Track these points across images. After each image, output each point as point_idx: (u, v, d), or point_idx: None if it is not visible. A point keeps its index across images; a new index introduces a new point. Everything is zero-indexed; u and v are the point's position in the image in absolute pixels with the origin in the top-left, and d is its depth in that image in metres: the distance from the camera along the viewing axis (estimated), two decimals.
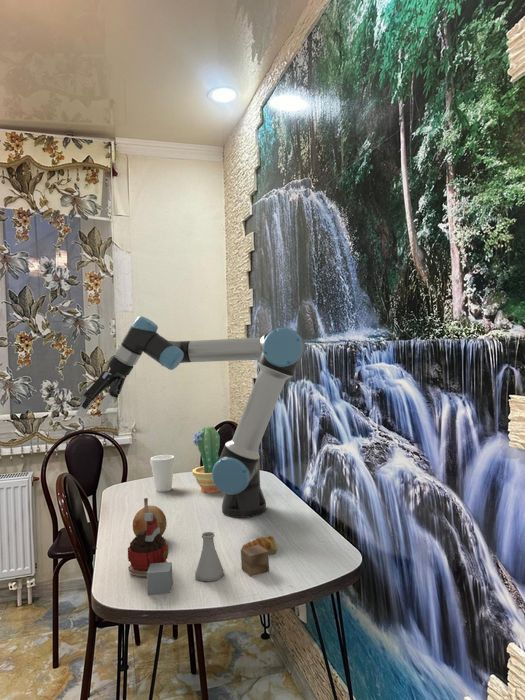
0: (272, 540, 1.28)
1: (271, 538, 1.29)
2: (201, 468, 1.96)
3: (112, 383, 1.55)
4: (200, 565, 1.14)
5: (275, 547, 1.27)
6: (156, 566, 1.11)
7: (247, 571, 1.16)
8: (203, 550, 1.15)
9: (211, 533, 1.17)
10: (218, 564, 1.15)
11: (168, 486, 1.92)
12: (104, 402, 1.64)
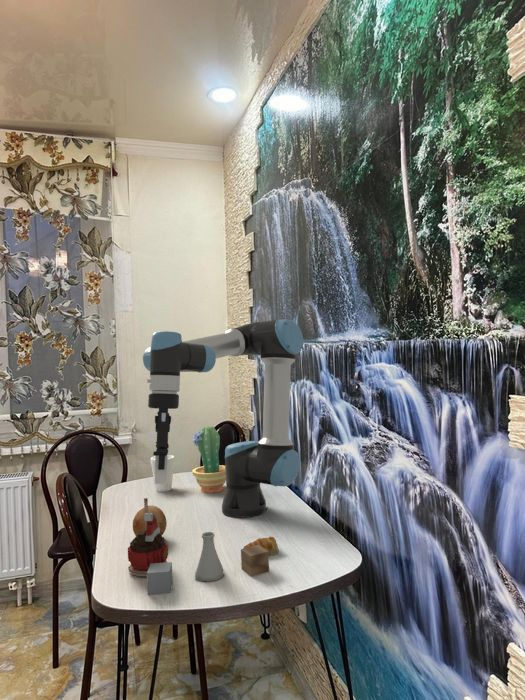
0: (273, 541, 1.28)
1: (272, 539, 1.28)
2: (201, 468, 1.96)
3: (169, 425, 1.18)
4: (200, 565, 1.14)
5: (276, 548, 1.27)
6: (156, 566, 1.11)
7: (247, 571, 1.16)
8: (203, 550, 1.15)
9: (211, 533, 1.17)
10: (218, 564, 1.15)
11: (168, 486, 1.92)
12: None
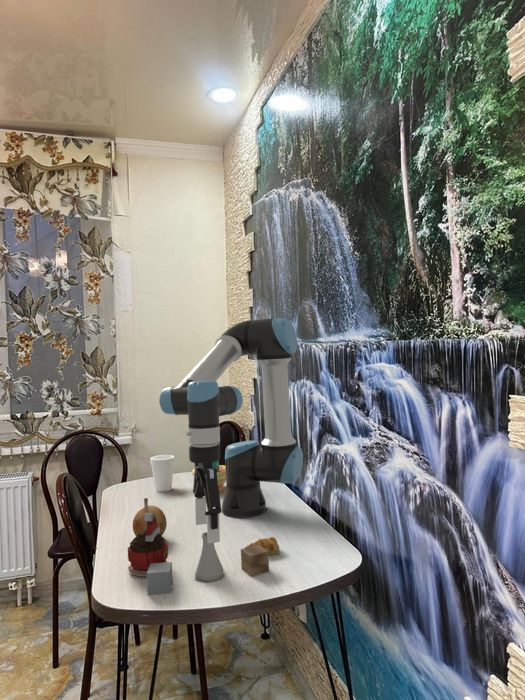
0: (274, 541, 1.27)
1: (273, 539, 1.28)
2: None
3: None
4: (200, 565, 1.14)
5: (278, 548, 1.26)
6: (156, 566, 1.11)
7: (247, 571, 1.16)
8: (203, 550, 1.15)
9: None
10: (218, 564, 1.15)
11: (168, 486, 1.92)
12: (199, 511, 1.22)
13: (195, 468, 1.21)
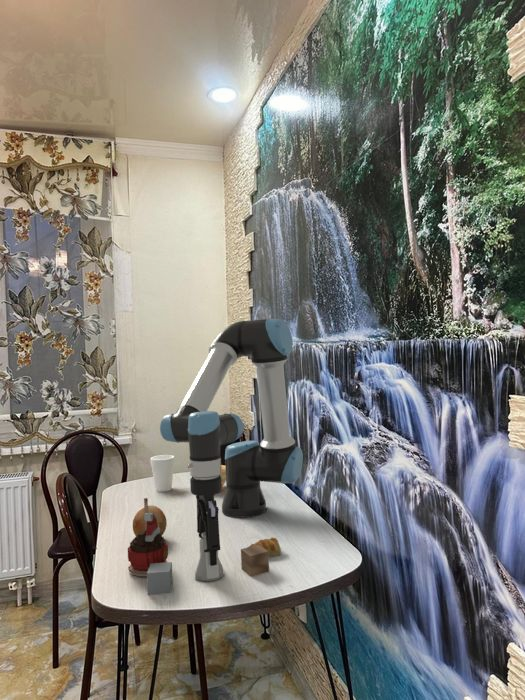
0: (276, 541, 1.27)
1: (274, 540, 1.28)
2: None
3: None
4: (200, 565, 1.14)
5: (279, 548, 1.26)
6: (156, 566, 1.11)
7: (247, 570, 1.16)
8: (203, 550, 1.15)
9: None
10: (218, 564, 1.15)
11: (168, 486, 1.92)
12: None
13: None
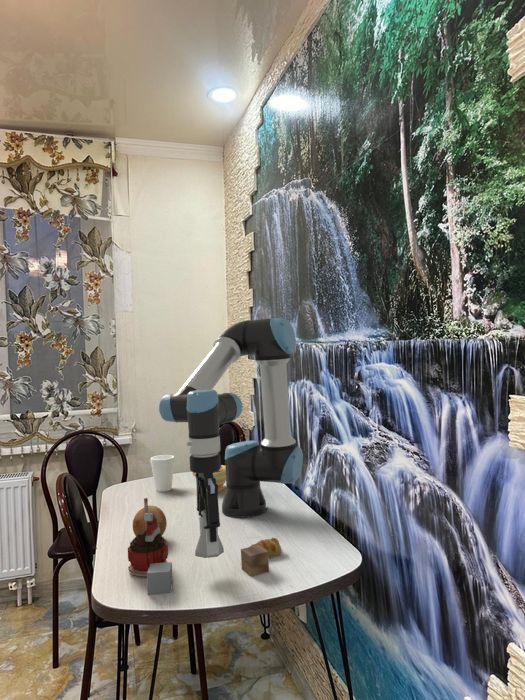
0: (276, 542, 1.27)
1: (275, 540, 1.27)
2: None
3: None
4: (200, 542, 1.14)
5: (280, 549, 1.26)
6: (156, 566, 1.11)
7: (247, 570, 1.16)
8: (203, 527, 1.15)
9: None
10: (218, 541, 1.15)
11: (168, 486, 1.92)
12: None
13: (196, 481, 1.21)
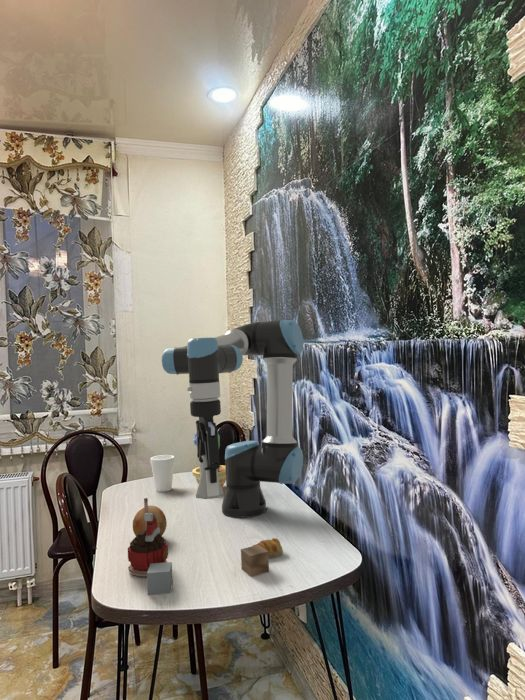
0: (277, 542, 1.26)
1: (276, 540, 1.27)
2: None
3: None
4: (200, 485, 1.18)
5: (281, 549, 1.25)
6: (156, 566, 1.11)
7: (247, 570, 1.16)
8: (203, 471, 1.18)
9: None
10: None
11: (168, 486, 1.92)
12: None
13: (197, 428, 1.24)
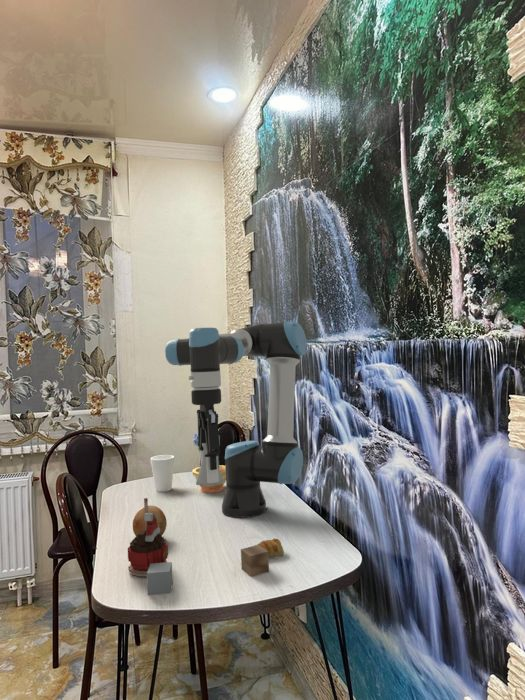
0: (278, 542, 1.26)
1: (277, 540, 1.27)
2: None
3: None
4: (201, 472, 1.20)
5: (282, 549, 1.25)
6: (156, 566, 1.11)
7: (247, 571, 1.16)
8: (203, 458, 1.20)
9: None
10: (218, 471, 1.20)
11: (168, 486, 1.92)
12: None
13: (198, 417, 1.26)
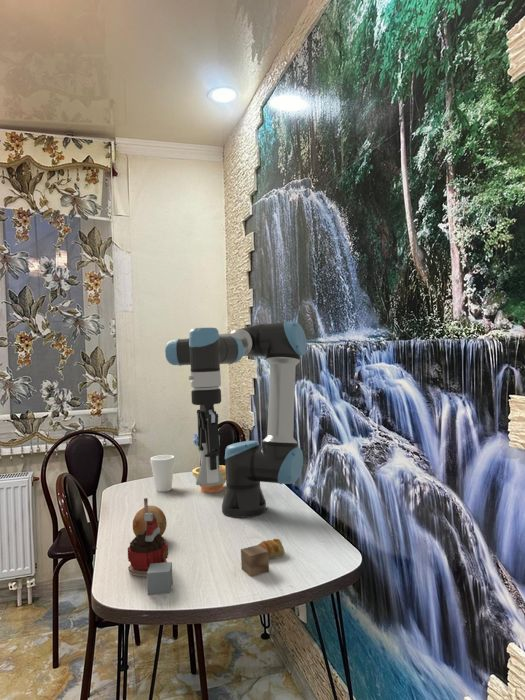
0: (279, 543, 1.26)
1: (277, 541, 1.27)
2: None
3: None
4: (201, 472, 1.20)
5: (282, 549, 1.25)
6: (156, 566, 1.11)
7: (247, 571, 1.16)
8: (203, 458, 1.20)
9: None
10: (218, 471, 1.20)
11: (168, 486, 1.92)
12: None
13: (198, 417, 1.26)
